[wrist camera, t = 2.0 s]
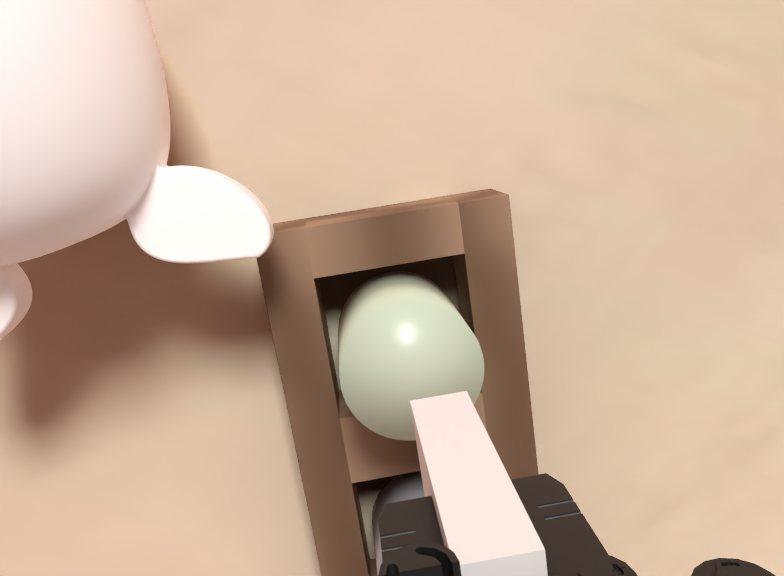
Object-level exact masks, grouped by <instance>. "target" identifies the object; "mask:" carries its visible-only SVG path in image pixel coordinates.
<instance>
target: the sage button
mask: <svg viewBox="0 0 784 576" xmlns="http://www.w3.org/2000/svg"><path fill="white" fill-rule="evenodd" d="M338 339H339V378H340V387H341V390H342V394H343V397H344V399H345V402H346V404H347V406H348V407H349V409H350V411H351V412H352V413H353V415H354V416H355V417H356V418H357V419H358V420H359V421H360V422H361V423H362V424H363V425H364V426H366V427H367V428H368V429H370V430H372V431H373V432H375V433H377V434H379V435H382V436H385V437H388V438H392V439H396V440H404V441H414V440H416V437H415V431H414V424H413V418H412V411H411V405H410V401H411V400H417V399H422V398H428V397H434V396H440V395H446V394H451V393H457V392H463V391H467V393H468V395H469V397H470V399H471V401H472V403H473V405H474V404H475V402H476V400H477V398H478V396H479V394H480V391H481V388H482V384H483V380H484V359H483V354H482V350H481V347H480V344H479V342H478V340H477V338H476V336H475V335H474V333H473V332H472V330H471V329H470V328H469V326H468V325H467V323H466V322H465V321H464V319H463V318H462V316H461V315H460V314H459V312H458V311H457V309H456V308H455V306H454V305H453V304H452V302H451V301H450V299H449V298H448V297H447V295H446V294H445V292H444V291H443V290H442V289H441V288H440V287H439V286H438V285H437V284H435V283H434V282H433V281H431V280H429V279H428V278H426V277H424V276H421V275H419V274H415V273H412V272H405V271H394V272H387V273H382V274H379V275H377V276H374V277H372V278H370V279H368V280H366V281H365V282H364V283H362V284H361V285H360V286H358V287H357V288H356V289H355V290H354V291H353V292H352V294H351V295H350V296H349V298H348V299H347V301H346V302H345V304H344V307H343V309H342V311H341V315H340V319H339V326H338Z"/></svg>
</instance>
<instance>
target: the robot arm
mask: <svg viewBox="0 0 784 576" xmlns="http://www.w3.org/2000/svg"><path fill="white" fill-rule="evenodd" d="M410 405H411V411H412V418H413V424H414V431H415V437H416V444H417V450H418V457H419V463H420V470H421V476H422V483H423V489H424V495H425V497H421V498H416V499H410V500H405V501H399V502H393V503H388V504H386V505H385V507H384V509H383V511H382V513H381V515H380V517H379V519H378V522H379V532H380V542H381V551H382V564H381V565H380V570H379V575H378V576H637V574H636V573H635V572H634V571H633V570H632V569H631V568H630V567H629V566H628V565H627V564H626V563H625V562H623V561H621V560H619V559H617V558H615V557H613V556H609V555H608V553H607V552H606V550H605V549H604V547H603V546H602V544H601V542H600V541H599V539H598V538H597V536H596V535H595V533H594V531H593V530H592V528H591V527H590V525H589V524H588V522H587V521H586V519H585V517H584V516H583V514H581V512H580V510H579V508H578V506H577V505H576V503H575V502H573V499H572V497H571V495H570V494H569V492H568V491H567V489H566V488H565V486H564V484H562V483H561V482H559V481H557V480H556V479H554V478H553V477H551V476H549V475H548V474H546V473H545V474H540V475H534V476H528V477H523V478H517V479H512V480H510V478H509V476H508V474H507V472H506V470H505V467H504V465H503V463H502V461H501V459H500V457H499V455H498V453H497V451H496V449H495V447H494V445H493V443H492V441H491V439H490V437H489V435H488V433H487V431H486V429H485V427H484V425H483V423H482V421H481V419H480V417H479V415H478V413H477V411H476V409H475V407H474V405H473V403H472V401H471V399H470V397H469V395H468V393H467V391H463V392H457V393H451V394H446V395H440V396H434V397H428V398H422V399H417V400H411V401H410ZM691 576H775V575H774V574H772V573H771V572H769V571H767V570H765V569H763V568H762V567H760V566H758V565H756V564H753V563H750V562H746V561H742V560H739V559H727V558H718V559H713V560H709V561H704V562H703V563H702V564H700V565H699V566H697V567H696V568H694V571H693V573H692V575H691Z"/></svg>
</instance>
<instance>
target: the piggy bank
mask: <svg viewBox="0 0 784 576" xmlns="http://www.w3.org/2000/svg"><path fill="white" fill-rule="evenodd" d="M169 148H170V109H169V100H168V92H167V86H166V80H165V74H164V69H163V65H162V60H161V55H160V51H159V47H158V43H157V39H156V35H155V32H154V29H153V25H152V22H151V18H150V15H149V12H148V9H147V6H146V3H145V0H0V340H2V339H3V338H4V337H5V336H6V335H8V334H9V333H10V332H11V331H12V330H13V329H14V328H15V327H16V326H17V325H18V324H19V323H20V322H21V321H22V319H23V318H24V317H25V315H26V314H27V312H28V310H29V308H30V306H31V302H32V287H31V284H30V281H29V279H28V277H27V275H26V274H25V272H24V271H23V269H22V268H21V267H20V266H19V264H18V263H19V262H23V261H27V260H31V259H34V258H38V257H41V256H44V255H47V254H50V253H53V252H55V251H58V250H60V249H63V248H66V247H68V246H71V245H73V244H76V243H78V242H81V241H83V240H86V239H88V238H91V237H93V236H95V235H97V234H99V233H101V232H104V231H106V230H108V229H109V228H111V227H113V226H115V225H117V224H118V223H120V222H122V221H123V220H125V219H127V221H128V224H129V228H130V230H131V233H132V235H133V238H134V239H135V241H136V243H137V244H138V245H139V247H140V248H141V249H142V250H143V251H144V252H146V253H147V254H149V255H150V256H152V257H154V258H156V259H159V260H162V261H166V262H173V263H207V262H218V261H227V260H237V259H248V258H258V257H260V256H261V255H263V254H264V253H265V252H266V250H267V249H268V247H269V245H270V244H271V242H272V240H273V236H274V227H273V222H272V219H271V217H270V215H269V213H268V211H267V210H266V208H265V207H264V205H263V204H262V203H261V202H260V200H259V199H258V198H257V197H256V196H255V195H254V194H253V193H252V192H250V191H249V190H248V189H247V188H245V187H244V186H243V185H241V184H240V183H238V182H237V181H235V180H233V179H231V178H230V177H228V176H226V175H223V174H221V173H219V172H216V171H213V170H210V169H206V168H202V167H196V166H183V165H182V166H168V165H167V160H168V155H169Z"/></svg>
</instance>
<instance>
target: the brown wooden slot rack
mask: <svg viewBox="0 0 784 576" xmlns="http://www.w3.org/2000/svg"><path fill="white" fill-rule="evenodd" d="M273 227H274V236H273V240H272V242H271V244H270V245H269V247H268V249H267V250H266V252H265V253H264V254H263V255H261V256H260V257H258V258H257V262H258V267H259V272H260V277H261V282H262V287H263V291H264V296H265V301H266V306H267V311H268V316H269V321H270V326H271V330H272V335H273V340H274V345H275V350H276V355H277V360H278V365H279V369H280V374H281V379H282V384H283V389H284V394H285V399H286V403H287V408H288V413H289V418H290V423H291V428H292V433H293V438H294V442H295V447H296V452H297V457H298V462H299V467H300V472H301V477H302V481H303V486H304V491H305V496H306V501H307V506H308V511H309V515H310V520H311V525H312V530H313V535H314V540H315V545H316V550H317V554H318V559H319V564H320V569H321V574H322V576H378V575H377V565H376V559H371V560H370V557H369V552H368V546H367V541H366V535H365V530H364V524H363V519H362V514H361V508H360V503H359V497H358V492H357V486H356V482H362V481H367V480H373V479H378V478H384V477H389V476H395V475H400V474H406V473H411V472H417V471H421V470H420V463H419V457H418V450H417V444H416V440H414V441H404V440H396V439H392V438H388V437H385V436H382V435H379V434H377V433H375V432H373V431H372V430H370V429H368V428H367V427H366V426H364V425H363V424H362V423H361V422H360V421H359V420H358V419H357V418H356V417H355V416H354V415H353V413H352V412H351V411H350V409H349V407H348V406H347V404H346V402H345V399H344V397H343V394H342V390H341V391H339V388H338V382H337V377H336V371H335V366H334V360H333V355H332V350H331V344H330V339H329V333H328V328H327V322H326V317H325V311H324V306H323V300H322V295H321V289H320V284H319V278H320V277H326V276H332V275H338V274H344V273H350V272H356V271H362V270H368V269H374V268H380V267H386V266H392V265H398V264H404V263H410V262H416V261H422V260H428V259H434V258H440V257H447V256H453V259H454V267H455V275H456V283H457V290H458V298H459V306H460V313H461V316H462V318H463V319H464V321H465V322H466V323H467V325H468V326H469V328H470V329H471V330H472V332H473V333H474V335H475V336H476V338H477V340H478V342H479V344H480V347H481V350H482V354H483V359H484V380H483V384H482V388H481V391H480V394H479V396H478V398H477V400H476V402H475V404H474V407H475V409H476V411H477V413H478V415H479V417H480V419H481V421H482V423H483V425H484V427H485V429H486V431H487V433H488V435H489V437H490V439H491V441H492V443H493V445H494V447H495V449H496V451H497V453H498V455H499V457H500V459H501V461H502V463H503V465H504V467H505V470H506V472H507V474H508V476H509V478H510V480H512V479H517V478H523V477H528V476H534V475H538V466H537V457H536V447H535V438H534V428H533V419H532V410H531V400H530V391H529V381H528V372H527V362H526V353H525V343H524V334H523V324H522V315H521V305H520V296H519V286H518V277H517V267H516V258H515V248H514V239H513V229H512V220H511V210H510V201H509V195H507V194H504V193H501V192H498V191H496V190H493V189H486V190H480V191H474V192H468V193H462V194H455V195H449V196H443V197H437V198H431V199H424V200H418V201H412V202H406V203H399V204H393V205H387V206H381V207H375V208H368V209H362V210H356V211H350V212H344V213H337V214H331V215H325V216H319V217H313V218H306V219H300V220H294V221H288V222H282V223H275V224H273Z"/></svg>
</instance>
